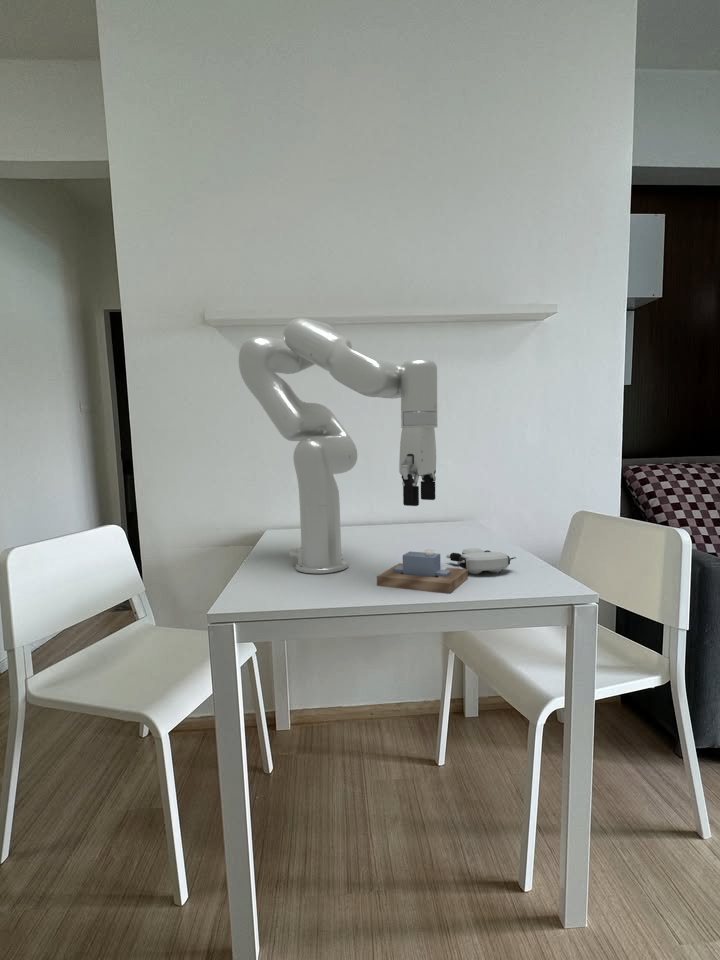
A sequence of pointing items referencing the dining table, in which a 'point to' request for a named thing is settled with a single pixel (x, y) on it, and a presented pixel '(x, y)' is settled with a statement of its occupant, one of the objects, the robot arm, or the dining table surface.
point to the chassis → (423, 580)
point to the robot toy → (481, 560)
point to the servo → (422, 564)
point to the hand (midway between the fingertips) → (419, 502)
